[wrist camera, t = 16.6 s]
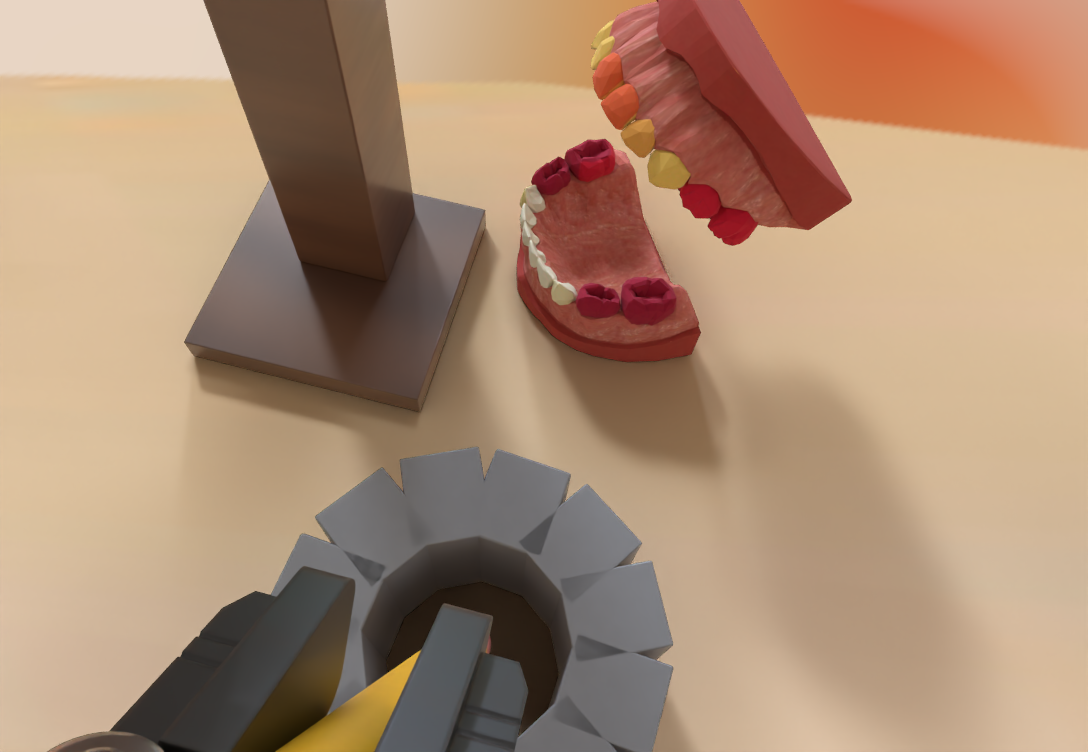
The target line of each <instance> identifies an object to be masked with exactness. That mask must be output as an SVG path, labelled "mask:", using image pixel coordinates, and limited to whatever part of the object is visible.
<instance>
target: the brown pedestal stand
mask: <svg viewBox="0 0 1088 752" xmlns="http://www.w3.org/2000/svg"><path fill="white" fill-rule="evenodd" d="M204 3H205V6H206V9H207V11H208V14H209V16H210V19H211V22H212V25H213V28H214V30H215V33H216V36H217V38H218V41H219V44H220V46H221V49H222V52H223V55H224V57H225V60H226V63H227V65H228V68H229V71H230V74H231V76H232V79H233V82H234V85H235V87H236V90H237V93H238V95H239V98H240V101H241V104H242V106H243V109H244V112H245V114H246V117H247V120H248V122H249V125H250V128H251V131H252V133H253V136H254V139H255V141H256V144H257V147H258V150H259V152H260V155H261V158H262V160H263V163H264V166H265V169H266V171H267V174H268V177H269V181H268V183H267V185H266V187H265V189H264V191H263V193H262V195H261V196H260V198H259V200H258V202H257V204H256V206H255V208H254V210H253V212H252V214H251V215H250V217H249V219H248V221H247V223H246V225H245V227H244V229H243V231H242V233H241V234H240V236H239V238H238V240H237V242H236V244H235V246H234V248H233V250H232V252H231V254H230V255H229V257H228V259H227V261H226V263H225V265H224V267H223V269H222V271H221V273H220V274H219V276H218V278H217V280H216V282H215V284H214V286H213V288H212V290H211V292H210V294H209V295H208V297H207V299H206V301H205V303H204V305H203V307H202V309H201V311H200V313H199V314H198V316H197V318H196V320H195V322H194V324H193V326H192V328H191V330H190V332H189V333H188V335H187V337H186V339H185V341H184V343H185V344H186V346H187V347H188V348H189V350H190V351H191V353H192V354H193V356H197V357H201V358H205V359H209V360H213V361H217V362H221V363H225V364H229V365H233V366H237V367H241V368H245V369H249V370H253V371H257V372H261V373H265V374H269V375H273V376H277V377H281V378H285V379H289V380H293V381H297V382H301V383H305V384H309V385H313V386H317V387H321V388H325V389H329V390H333V391H337V392H342V393H346V394H350V395H354V396H358V397H362V398H366V399H370V400H374V401H378V402H382V403H386V404H390V405H394V406H398V407H402V408H406V409H410V410H414V411H418V412H420V411H421V408H422V405H423V402H424V400H425V397H426V394H427V391H428V388H429V385H430V382H431V380H432V377H433V374H434V371H435V368H436V365H437V363H438V360H439V357H440V354H441V351H442V348H443V346H444V343H445V340H446V337H447V334H448V331H449V329H450V326H451V323H452V320H453V317H454V314H455V311H456V309H457V306H458V303H459V300H460V297H461V294H462V292H463V289H464V286H465V283H466V280H467V277H468V275H469V272H470V269H471V266H472V263H473V260H474V258H475V255H476V252H477V249H478V246H479V243H480V240H481V238H482V235H483V232H484V229H485V226H486V221H485V210H483V209H479V208H475V207H470V206H466V205H462V204H457V203H453V202H449V201H444V200H440V199H436V198H431V197H427V196H423V195H418V194H414V193H412V187H411V180H410V172H409V165H408V158H407V151H406V144H405V137H404V130H403V123H402V116H401V109H400V102H399V95H398V88H397V80H396V74H395V66H394V59H393V53H392V45H391V38H390V31H389V24H388V17H387V10H386V3H385V0H204Z"/></svg>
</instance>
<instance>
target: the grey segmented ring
mask: <svg viewBox="0 0 1088 752" xmlns="http://www.w3.org/2000/svg"><path fill="white" fill-rule="evenodd" d="M400 467H401V475H402V484H403V491H402V490H401V489H400V488H399V486H398V485H397V484H396V483H395V482H394V480H393V479H392V478H391V477H390V476H389V474H388V473H387V472H386V471H385V470H384V468H380V469H379V470H377V471H376V472H375V473H373V474H372V475H371V476H369V477H368V478H366V479H365V480H364V481H362V482H361V483H360V484H358V485H357V486H356V487H354V488H353V489H352V490H350V491H349V492H348V493H346V494H345V495H343V496H342V497H341V498H339V499H338V500H337V501H335V502H334V503H333V504H331V505H330V506H329V507H327V508H326V509H324V510H323V511H322V512H320V513H319V514H318V515H316V516H315V519H316V520H317V522H318V523H319V525H320V526H321V528H322V529H323V531H324V532H325V534H326V536H327V537H328V539H329V540H330V542H331V543H329V542H326V541H324V540H321V539H318V538H315V537H313V536H310V535H307V534H301V535H300V537H299V539H298V541H297V543H296V545H295V547H294V549H293V551H292V553H291V555H290V557H289V559H288V561H287V563H286V565H285V567H284V569H283V571H282V573H281V575H280V577H279V579H278V581H277V583H276V585H275V587H274V589H273V591H272V593H271V595H272V596H276V597H277V596H278V594H279V593H280V592H281V591H282V590H283V588H284V587H285V586H286V585H287V584H288V582H289V581H290V580H291V579H292V577H293V576H294V575H295V574H296V573H297V571H298V570H299V569H300V568H301V567H303V566H307V567H311V568H314V569H318V570H322V571H326V572H329V573H333V574H337V575H341V576H345V577H348V578H352V579H354V580H355V596H354V602H353V609H352V615H351V621H350V627H349V633H348V640H347V646H346V652H345V658H344V664H343V670H342V675H341V679H340V682H339V686H338V689H337V692H336V695H335V697H334V700H333V703H332V705H331V707H330V709H329V712H328V714H330V713H331V712H333V711H334V710H335V709H337V708H338V707H340V706H341V705H343V704H344V703H345V702H347V701H348V700H350V699H351V698H353V697H354V696H355V695H357V694H358V693H360V692H361V691H363V690H364V689H366V688H367V687H368V686H370V685H371V684H373V683H374V682H376V681H377V680H378V679H380V678H381V677H383V676H384V675H386V674H387V666H386V660H387V657H388V655H389V652H390V650H391V648H392V645H393V643H394V640H395V638H396V636H397V633H398V631H399V628H400V626H401V623H402V621H403V619H404V617H406V616H407V615H408V614H409V613H411V612H412V611H413V610H414V609H415V608H417V607H418V606H419V605H420V604H421V603H423V602H424V601H425V600H426V599H428V598H429V597H430V596H431V595H432V594H434V593H435V592H436V591H437V590H438V589H443V588H449V587H454V586H460V585H465V584H470V583H476V582H481V581H482V582H485V583H488V584H490V585H493V586H496V587H499V588H502V589H504V590H507V591H510V592H513V593H516V594H518V595H521V596H522V597H523V598H524V599H525V600H526V602H527V603H528V604H529V605H530V606H531V608H532V609H533V610H534V611H535V612H536V614H537V615H538V616H539V617H540V618H541V619H542V621H543V622H544V623H545V624H546V625H547V627H548V628H549V629H550V632H551V637H552V642H553V647H554V653H555V658H556V663H557V668H558V673H559V676H558V679H557V682H556V685H555V688H554V692H553V695H552V698H551V701H550V704H549V707H548V710H547V711H546V712H545V713H544V714H543V715H541V716H540V717H539V718H538V719H537V720H536V721H535V722H534V723H533V724H532V725H531V726H530V727H529V728H528V729H526V730H525V731H524V732H523V733H522V734H521V735H520V736H519V737H518V738H517V742H516V746H515V751H514V752H652V750H653V746H654V742H655V738H656V735H657V731H658V727H659V723H660V719H661V715H662V711H663V707H664V703H665V699H666V695H667V691H668V687H669V683H670V680H671V676H672V672H673V667H672V666H670V665H668V664H665V663H662V662H659V661H657V659H658V658H659V657H660V656H661V655H662V654H664V653H665V652H666V651H667V650H668V649H669V648H670V647H671V646H673V641H672V637H671V633H670V630H669V626H668V622H667V618H666V614H665V610H664V606H663V602H662V598H661V595H660V591H659V587H658V583H657V579H656V575H655V571H654V567H653V563H652V561H647V562H641V563H636V564H631V562H632V560H633V559H634V557H635V555H636V553H637V551H638V550H639V548H640V546H641V544H642V543H641V541H640V540H639V539H638V538H637V537H636V536H635V535H634V534H633V533H632V532H631V531H630V529H629V528H628V527H627V526H626V525H625V524H624V523H623V522H622V521H621V520H620V519H619V518H618V516H617V515H616V514H615V513H614V512H613V511H612V510H611V509H610V508H609V507H608V506H607V505H606V504H605V502H604V501H603V500H602V499H601V498H600V497H599V496H598V495H597V494H596V493H595V492H594V491H593V490H592V488H591V487H590V486H589V485H588V484H586V485H584V486H583V487H582V488H581V489H580V490H578V491H577V492H576V493H575V494H574V495H572V496H571V497H570V498H569V499H568V500H566V501H565V499H566V495H567V490H568V486H569V481H570V477H571V474H569V473H567V472H564V471H561V470H558V469H555V468H553V467H550V466H547V465H544V464H541V463H538V462H535V461H532V460H529V459H526V458H523V457H520V456H517V455H514V454H511V453H508V452H505V451H503V450H500V449H497V450H496V452H495V454H494V457H493V459H492V462H491V464H490V467H489V469H488V472H487V474H486V477H485V479H484V475H483V469H482V463H481V457H480V451H479V447H473V448H467V449H461V450H455V451H449V452H443V453H436V454H430V455H424V456H418V457H412V458H405V459H400ZM403 492H404V493H403ZM328 714H327V715H328Z"/></svg>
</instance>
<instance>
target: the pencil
mask: <svg viewBox="0 0 1088 752" xmlns="http://www.w3.org/2000/svg"><path fill="white" fill-rule="evenodd" d="M490 650H491V638H490V636H489V640H488V645H487V649H486V653H488V654H489V653H490ZM420 651H421V650H420ZM420 651H418V652H417V653H416V654H414V655H413V656H411V657H410V658H408V659H407V660H406V661H404V662H403V663H401V664H400V665H398V666H397V667H396V668H394V669H393V670H391V671H390V672H388V673H387V674H386V675H384V676H383V677H381V678H380V679H378V680H377V681H376V682H374V683H373V684H371V685H370V686H368V687H367V688H366V689H364V690H363V691H361V692H360V693H358V694H357V695H355V696H354V697H353V698H351V699H350V700H348V701H347V702H345V703H344V704H343V705H341V706H340V707H338V708H337V709H335V710H334V711H333V712H331V713H330V714H328V715H327V716H325V717H324V718H323V719H321V720H320V721H318V722H317V723H315V724H314V725H313V726H311V727H310V728H308V729H307V730H305V731H304V732H303V733H301V734H300V735H298V736H297V737H295V738H294V739H293V740H291V741H290V742H288V743H287V744H285V745H284V746H283V747H281V748H280V749H278V750H277V751H275V752H374V751H375V749H376V747H377V745H378V742H379V740H380V738H381V736H382V734H383V732H384V729H385V727H386V725H387V723H388V721H389V719H390V716H391V714H392V712H393V710H394V708H395V706H396V703H397V701H398V699H399V697H400V695H401V693H402V690H403V688H404V686H405V684H406V682H407V680H408V677H409V675H410V673H411V671H412V669H413V667H414V664H415V662H416V660H417V658H418V656H419V654H420Z"/></svg>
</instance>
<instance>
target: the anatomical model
mask: <svg viewBox="0 0 1088 752" xmlns="http://www.w3.org/2000/svg"><path fill="white" fill-rule="evenodd" d="M591 48H592V49H596V52H595V54H594V56H593V58H592V60H591V68H592V69H593V70H596V71H595V73H594V75H593V84H594V90H595V92H596V94H597V96H598V98H599V99H601V100H603V99H604V100H603V101H602V102H601V106H602V108H603V110H604V112H605V114H606V116H607V117H608V119H609V120H610V122H611V123H612V124H613V126H614V127H615V128H616V129H618V130H623V129H624V128H625V127H626V126H627V127H626V128H625V129H624V130H623V131H622V132H621V137H622V139H623V141H624V143H625V145H626V146H627V147H628V148H630V149H631V150H632V151H633V152H634V153H635V154H636V155H637V156H639V157H642V158H645V157H646V156H647V155H648V154H649V153H650V152H651V151H652V150H653V149H656V150H655V151H653V152H652V153H651V154H650V158H649V162H648V176H649V182H651V183H652V184H653V185H655V186H656V187H662V188H669V189H678V190H679V191H680V196H681V198H682V204H683V207H685V208H687V209H689V210H690V211H691V213H692V214H693V216H694V217H695V218H710V219H711V220H710V222H709V224H708V228H709V229H710V230H711V231H713V234H714V236H716V237H718V238H722V240H723V242H724V243H725V244H728V245H732V246H733V245H737V244H740V243H742V242H743V241H745V240H746V239H747V238H749V236H750V235H751V233H752V232H753V231H754V229H755V228H756V227H757V225H762V226H766V227H790V228H797V229H805V230H810V229H811V228H813V227H814V226H816V225H817V224H819V223H820V222H822V221H823V220H825V219H826V218H828V217H830V216H831V215H833V214H834V213H836V212H837V211H839V210H840V209H842V208H843V207H845V206H846V205H848V204H849V203H851V201H852V199H851V196H850V194H849V192H848V191H847V189H846V187H845V185H844V183H843V182H842V180H841V178H840V176H839V175H838V173H837V171H836V169H835V167H834V166H833V164H832V162H831V160H830V159H829V157H828V155H827V153H826V151H825V150H824V148H823V146H822V144H821V143H820V141H819V139H818V137H817V135H816V134H815V132H814V130H813V128H812V127H811V125H810V123H809V121H808V119H807V118H806V116H805V114H804V112H803V111H802V109H801V107H800V105H799V103H798V102H797V100H796V98H795V96H794V95H793V93H792V91H791V89H790V88H789V86H788V84H787V82H786V81H785V79H784V77H783V75H782V74H781V72H780V70H779V68H778V67H777V65H776V63H775V61H774V60H773V58H772V56H771V55H770V53H769V51H768V49H767V48H766V46H765V44H764V42H763V41H762V39H761V37H760V35H759V34H758V32H757V30H756V28H755V27H754V25H753V23H752V22H751V20H750V18H749V16H748V15H747V13H746V11H745V9H744V8H743V6H742V4H741V3H740V1H739V0H657V2H653V3H649V4H645V5H641V6H637V7H634V8H631V9H629V10H627V11H625V12H623V13H621V14H619V15H618V16H617V17H616V19H615V20H613V21H610V22H609V23H608V24H606V25H605V26H604V28H602V29H601V30H600V31H599V32H598V33H597V35H596V37H595V39H594V41H593V43H592V45H591ZM635 119H636V121H634V120H635ZM632 121H634V122H632ZM631 122H632V123H631ZM531 183H532V185H531V186H528V187H527V188H525V189H524V192H523V195H522V197H521V200H520V206H521V208H522V210H521V215H520V225H521V240H520V250H519V254H518V259H517V289H518V292H519V294H520V296H521V298H522V299H523V301H524V302H525V304H526V306H527V307H528V308H529V310H530V311H531V312H532V313H533V315H534V316H535V317H536V318H538V319H539V320H540V321H541V323H542V324H543V325H544V326H545V327H546V329H547V330H548V331H549V332H550V333H551V335H553V336H554V337H555V338H557V339H558V340H560V341H561V342H563V343H565V344H567V345H568V346H570V347H572V348H574V349H575V350H578V351H581V352H584V353H587V354H590V355H593V356H597V357H602V358H608V359H613V360H618V361H624V362H637V361H659V360H664V359H670V358H675V357H680V356H685V355H690V354H692V351H693V349H694V347H695V345H696V342H697V340H698V338H699V336H700V333H701V332H700V329H699V327H698V325H699V322H698V319H697V316H696V314H695V311H694V309H693V306H692V304H691V301H690V299H689V296H688V294H687V291H686V290H685V289H684V288H682V287H681V286H680V285H673V284H672V283H671V281H670V279H669V277H668V275H667V273H666V271H665V269H664V266H663V264H662V262H661V259H660V257H659V254H658V252H657V250H656V247H655V245H654V242H653V240H652V238H651V235H650V233H649V230H648V228H647V226H646V223H645V221H644V218H643V214H642V209H641V203H640V198H639V193H638V188H637V181H636V174H635V171H634V168H633V166H632V165H631V163H630V161H629V159H628V157H627V155H626V153H625V152H622V151H619V150H615V149H613V146H612V145H611V144H610V143H609V142H608V141H607V140H606V139H600V140H587V141H585V142H583V143H582V144H580V145H578V146H575V147H573V148H571V149H569V150H568V151H567V152H566V155H565V159H563V158H561V157H557V158H556V159H554V160H552V161H551V162H550V163H546V164H545V165H544V166H542V167H541V168H540V169H538V170H537V171H536V172H535V174H534V176H533V178H532V181H531Z"/></svg>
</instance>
